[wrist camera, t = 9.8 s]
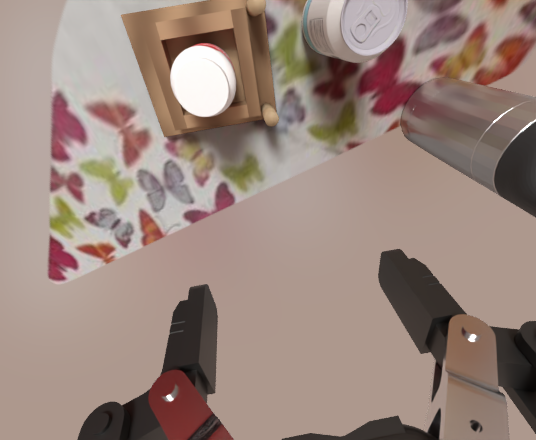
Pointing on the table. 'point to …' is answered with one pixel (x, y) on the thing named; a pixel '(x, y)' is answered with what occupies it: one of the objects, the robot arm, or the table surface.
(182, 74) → the pill bottle
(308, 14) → the beverage can
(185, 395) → the robot arm
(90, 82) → the table surface
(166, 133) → the holder
